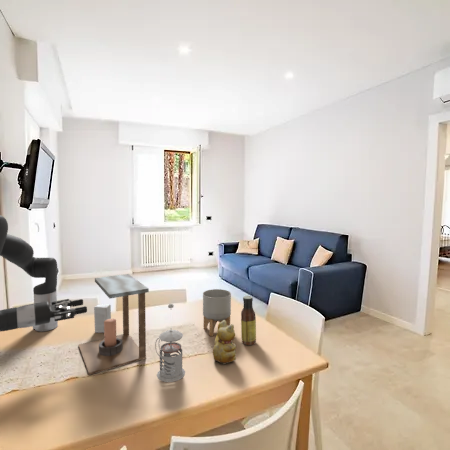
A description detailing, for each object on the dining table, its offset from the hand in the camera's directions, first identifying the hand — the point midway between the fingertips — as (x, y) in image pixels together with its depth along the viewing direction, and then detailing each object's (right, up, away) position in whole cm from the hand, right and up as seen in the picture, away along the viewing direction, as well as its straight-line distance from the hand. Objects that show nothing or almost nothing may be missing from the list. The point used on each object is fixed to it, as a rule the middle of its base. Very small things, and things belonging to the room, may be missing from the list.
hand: (84, 305), depth 111 cm
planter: (+49, -19, +27) cm, 59 cm away
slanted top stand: (+7, -20, +7) cm, 23 cm away
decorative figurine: (+52, -21, +1) cm, 56 cm away
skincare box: (-4, -19, +26) cm, 32 cm away
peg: (+7, -20, +6) cm, 22 cm away
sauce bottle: (+63, -20, +16) cm, 68 cm away
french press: (+33, -22, -7) cm, 40 cm away
